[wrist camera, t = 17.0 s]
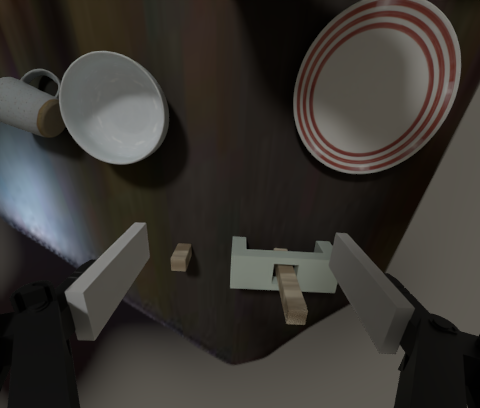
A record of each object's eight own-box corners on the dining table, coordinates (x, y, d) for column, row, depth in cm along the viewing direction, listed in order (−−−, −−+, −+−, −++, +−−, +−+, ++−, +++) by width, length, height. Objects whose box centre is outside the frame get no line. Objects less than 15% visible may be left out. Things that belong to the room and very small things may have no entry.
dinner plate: (398, 185, 47) (409, 189, 44) (272, 152, 45) (274, 155, 42) (477, 30, 38) (499, 22, 35) (322, -20, 36) (330, -33, 32)
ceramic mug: (68, 138, 44) (35, 142, 37) (24, 121, 43) (-19, 121, 36) (77, 82, 41) (42, 74, 34) (30, 62, 40) (-17, 49, 33)
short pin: (178, 243, 52) (170, 258, 47) (191, 244, 52) (185, 259, 47) (178, 254, 53) (171, 270, 48) (191, 255, 53) (185, 271, 48)
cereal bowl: (125, 37, 38) (100, 20, 32) (195, 116, 43) (186, 116, 36) (67, 109, 42) (35, 108, 36) (137, 175, 47) (120, 184, 40)
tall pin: (273, 248, 53) (288, 309, 36) (286, 248, 53) (307, 310, 36) (272, 259, 54) (286, 323, 37) (285, 259, 54) (304, 324, 37)
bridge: (232, 236, 52) (231, 255, 45) (329, 241, 52) (342, 260, 45) (231, 266, 54) (230, 288, 47) (322, 270, 55) (334, 293, 48)
